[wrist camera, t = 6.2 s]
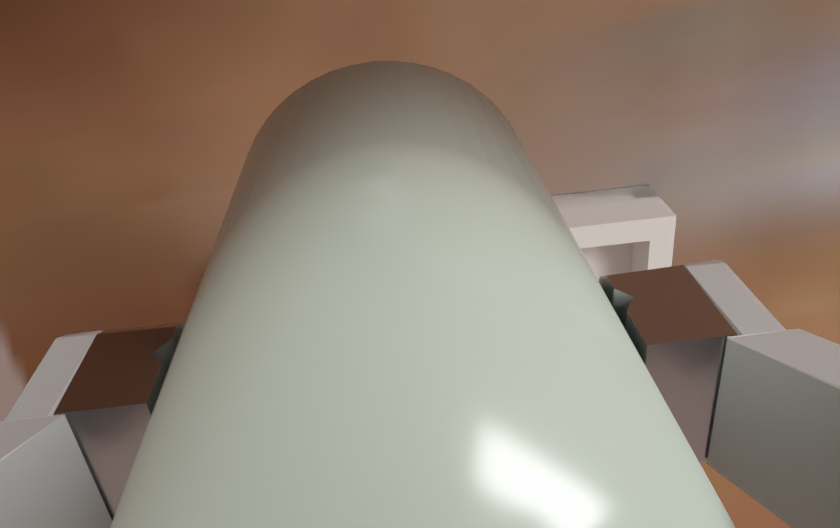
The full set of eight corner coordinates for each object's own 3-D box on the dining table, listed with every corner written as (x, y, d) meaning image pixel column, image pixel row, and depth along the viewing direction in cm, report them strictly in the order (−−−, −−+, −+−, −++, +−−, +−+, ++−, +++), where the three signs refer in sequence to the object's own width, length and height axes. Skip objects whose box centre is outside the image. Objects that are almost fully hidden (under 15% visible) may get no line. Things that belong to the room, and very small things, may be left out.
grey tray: (250, 229, 25) (239, 265, 23) (649, 185, 25) (676, 215, 23) (315, 510, 32) (311, 558, 29) (626, 472, 32) (646, 517, 30)
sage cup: (210, 78, 11) (-112, 569, 4) (530, 45, 12) (890, 451, 4) (271, 339, 14) (162, 951, 6) (532, 309, 14) (745, 876, 6)
